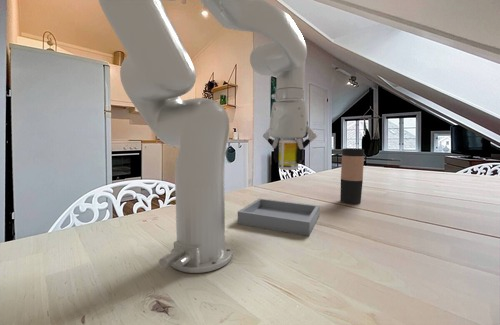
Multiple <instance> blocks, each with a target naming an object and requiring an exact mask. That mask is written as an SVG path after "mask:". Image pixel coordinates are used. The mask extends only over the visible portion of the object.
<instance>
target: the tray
mask: <svg viewBox="0 0 500 325" xmlns="http://www.w3.org/2000/svg"><path fill="white" fill-rule="evenodd" d="M320 207H321V206H320V205H316V204H308V203H301V202H293V201H282V200H275V199H269V198H267V199H266V198H257V199H256V200H254V201H253V202H251V203H250V204H248V205H245V206H244V207H243V208H241V209H240V210H238V211H237V224H238V225H243V226H251V227H254V228H260V229H266V230H272V231H278V232H284V233H288V234H295V235H301V236H307V237H310V235H311V234H312V231H313V230H314V228H315V226H316V224H317V222H318V220H319V218H320V209H321V208H320Z"/></svg>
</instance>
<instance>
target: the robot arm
mask: <svg viewBox="0 0 500 325" xmlns="http://www.w3.org/2000/svg"><path fill="white" fill-rule="evenodd" d="M163 1H165V2H166V1H167V2H175V1H178V0H98V3H99V6H100V8H101V11H102V12H103V14H104V16H105V18H106V19H107V20H106V21H108V23H109V25H110V26H111V28H112V29H113V32H114V33H115V35H116V37H117V39H118V40H119V42H120V44H121V45H122V47H123V48H124V51H125V52H126V57H125V58H124V59H123V61H122V62H121V66H120V69H119V77H120V81H121V85H122V87H123V90H124V92H125V93H126V95H127V97H128V98H129V100H130V101H131V103H132V104H133V106H134V107H135V109H136V110H137V111H138V113H139V114H140V116H141V117H142V118H143V120H144V122H145V123H146V124H147V125H148V127H149V129H150V130H151V131H152V132H153V134H154V135H155V136H156V137H157V138H158V139H159V140H160V141H161V142H162V143H164V144H165V145H168V146H170V147H175V148H178V153H177V155H176V156H177V157H176V159H175V164H174V187H175V189H174V190H175V191H174V192H175V215H176V216H175V220H176V221H175V222H176V223H175V224H176V225H175V226H176V227H175V228H176V230H175V231H176V241H174V242H173V248H172V249H171V251H170V252H169V253H167V254H166V255H164V256H162V257H160V258H159V260H158V263H159V267H160V268H162V269H164V270H165V269H168V268H169V267H172V268H173V269H175V270H177V271H180V272H183V273H190V274H201V273H202V274H203V273H208V272H213V271H215V270H218V269H220V268H222V267H224V266H227V264H228V263H230V261H231V260H232V257H233V248H232V247H231V245H230V244H229V243H227V242H226V240H225V239H226V237H225V233H226V229H225V228H226V224H225V220H226V219H225V218H226V216H225V215H226V214H225V211H226V210H225V209H226V208H225V199H226V198H225V196H226V195H225V160H226V150H227V145H228V144H227V143H228V140H229V133H230V119H229V116H228V112H227V111H226V109H225V108H224V107H223V106H222V104H221V103H219V102H218V101H216V100H214V99H210V98H205V97H198V98H197V97H196V98H190V99H185V100H184V99H183V100H182V98H181V96H182V97H183V95H186V94H187V93H189V92H190V91H192V89H194V86H195V83H196V82H197V74H196V69H195V66H194V64H193V61H192V60H191V57H190V55H189V53H188V52H187V50H186V48H185V46H184V44H183V42H182V39H181V38H180V36H179V34H178V32H177V31H176V29H175V26H174V24H173V22H172V21H171V18H170V17H169V15H168V13H167V11H166V8H165V5H164V4H163ZM199 2H200V3H201V4H202V5H203V6H204V8H205V9H206V10H207V11H208V12H209V13H210V14H211V16H213V18H214V19H215V20H216V22H218V23H219V24H220V25H221V27H223V28H225V29H229V30H232V31H233V30H234V31H242V32H248V33H256V34H259V35H262V36H265V37H266V38H269V39H270V40H269V41H267V42H264V43H262V44H259V45H257V46H255V47H254V48H253V49H252V50H251V53H250V55H249V62H250V66H251V68H252V69H253V71H254V72H256V73H257V74H259V75H261V76H268V77H269V76H271V77H272V76H274V77H276V89H275V93H272V94H271V99H272V100H275V101H274V102H272V106H271V111H270V119H269V128H268V129H267V130H266V131H265V132H264V134H263V135H262V137H263V139H265V140H266V141H267V142H268V144H270V146H271V147H272V149H273V154H272V155H273V160H274V163H279V140H282V138H296V139H295V140H297V143H298V146H299V147H298V149H297V162H296V163H297V164H298V165H299V164H302V162H303V161H304V159H305V158H304V157H305V152H304V151H305V148H306V147H308V146H309V145H310V144H311V143H312V142H313V141H314V140H315V139H316V138H317V136H318V135H317V134H316V133H315V132H314V131H313V129H312V128H311V127H310V125H309V120H308V119H309V115H308V106H307V102H306V101H305V79H306V78H305V77H306V76H305V75H306V74H305V73H306V72H305V71H306V59H307V56H308V48H307V44H306V41H305V40H304V39H305V38H304V37H303V34H302V33H301V31H300V30H299V28H298V26H297V25H296V22H295V21H294V20H293V19H292V17H291V16H290V15H289V14H288V13H287V12H285V11H284V10H283V9H281V8H279V7H278V6H277V5H275V4H273V3H272V2H269V1H267V0H199ZM308 135H309V136H308ZM307 137H308V138H307ZM305 138H306V139H305ZM304 139H305V140H304Z"/></svg>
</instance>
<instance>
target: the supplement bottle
mask: <svg viewBox="0 0 500 325" xmlns="http://www.w3.org/2000/svg"><path fill="white" fill-rule="evenodd" d="M298 147H299V146H298V143H297V140H296V138H282V140H279V162H278V168H279V170H285V171H294V170H297V169H299V164H297V163H296V162H297V149H298Z"/></svg>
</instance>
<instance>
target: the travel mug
mask: <svg viewBox="0 0 500 325" xmlns="http://www.w3.org/2000/svg"><path fill="white" fill-rule="evenodd" d="M341 151H342V153H341V167H340V169H341V170H340V195H339V196H340V197H339V198H340V202H341V203H344V204H347V205H348V204H349V205H359V204H361V202H362V194H363V192H362V191H363V184H364V182H363V181H364V164H365V162H364V161H365V149H364V148H350V147H349V148H348V147H347V148H346V147H345V148H342V150H341Z"/></svg>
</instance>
